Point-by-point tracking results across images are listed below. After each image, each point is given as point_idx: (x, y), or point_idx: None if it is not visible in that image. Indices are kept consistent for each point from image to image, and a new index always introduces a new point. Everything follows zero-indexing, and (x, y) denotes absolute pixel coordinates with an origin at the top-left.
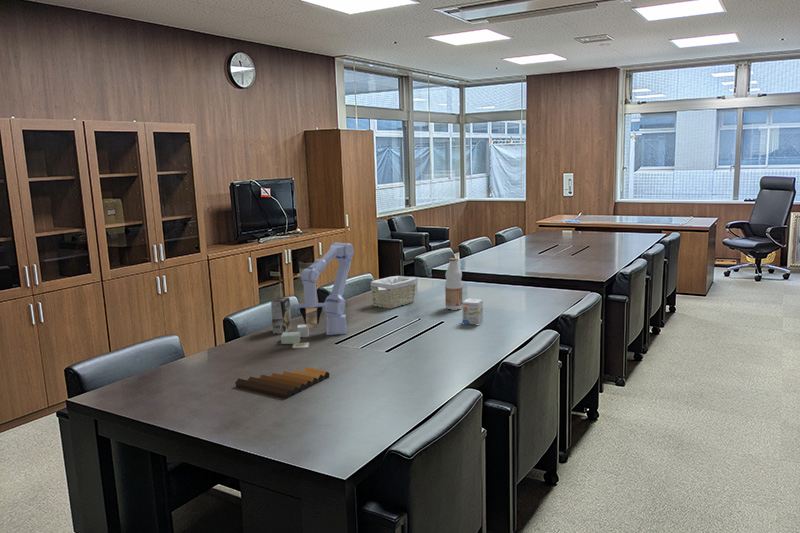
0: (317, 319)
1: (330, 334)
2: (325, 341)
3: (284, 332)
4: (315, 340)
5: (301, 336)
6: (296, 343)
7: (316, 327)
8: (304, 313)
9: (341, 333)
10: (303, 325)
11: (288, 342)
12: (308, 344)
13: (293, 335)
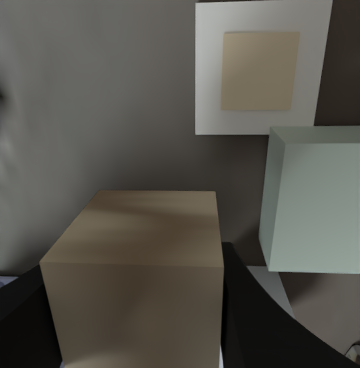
0: None
1: None
2: (83, 154)
3: (356, 352)
4: (155, 188)
5: (252, 269)
6: (291, 122)
7: (106, 191)
8: (255, 341)
9: (9, 279)
10: None
11: (358, 128)
12: (196, 79)
13: (334, 160)
